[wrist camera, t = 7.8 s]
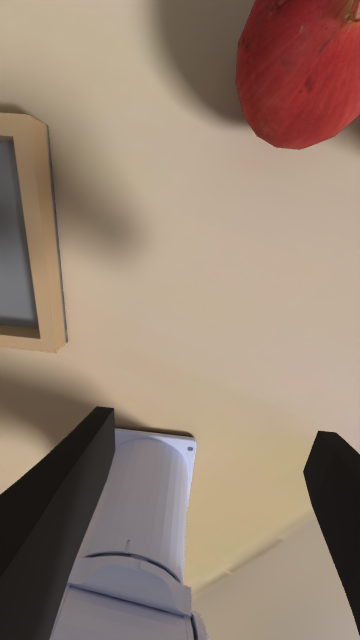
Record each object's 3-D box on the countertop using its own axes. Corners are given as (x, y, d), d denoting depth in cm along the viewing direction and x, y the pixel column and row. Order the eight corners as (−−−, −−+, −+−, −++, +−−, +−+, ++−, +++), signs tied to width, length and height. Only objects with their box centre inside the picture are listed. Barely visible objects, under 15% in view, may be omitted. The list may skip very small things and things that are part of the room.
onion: (205, 93, 14) (212, -46, 6) (302, -10, 12) (458, -355, 5) (267, 185, 15) (330, 157, 8) (361, 104, 14) (553, -28, 6)
